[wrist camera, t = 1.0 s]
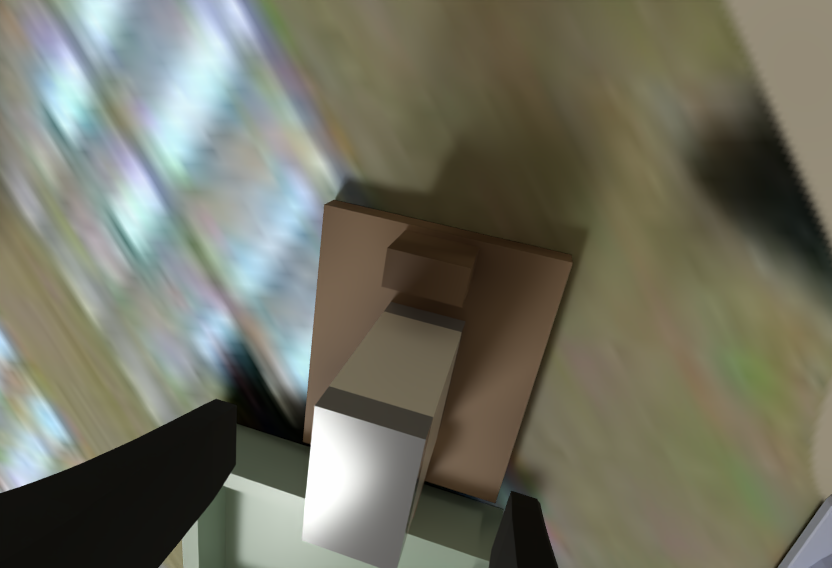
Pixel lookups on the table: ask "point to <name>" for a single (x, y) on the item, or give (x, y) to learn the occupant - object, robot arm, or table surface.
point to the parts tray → (284, 511)
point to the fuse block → (449, 296)
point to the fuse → (379, 435)
